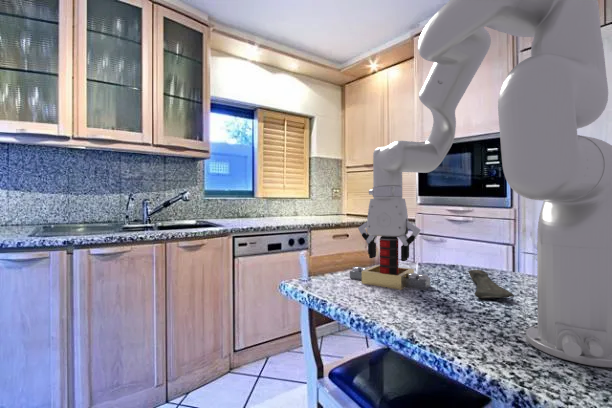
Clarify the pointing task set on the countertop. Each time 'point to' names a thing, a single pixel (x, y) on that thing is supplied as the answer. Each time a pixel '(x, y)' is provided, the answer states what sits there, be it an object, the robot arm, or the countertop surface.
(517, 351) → the countertop surface
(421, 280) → the chain joint
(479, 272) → the tool
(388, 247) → the grenade
